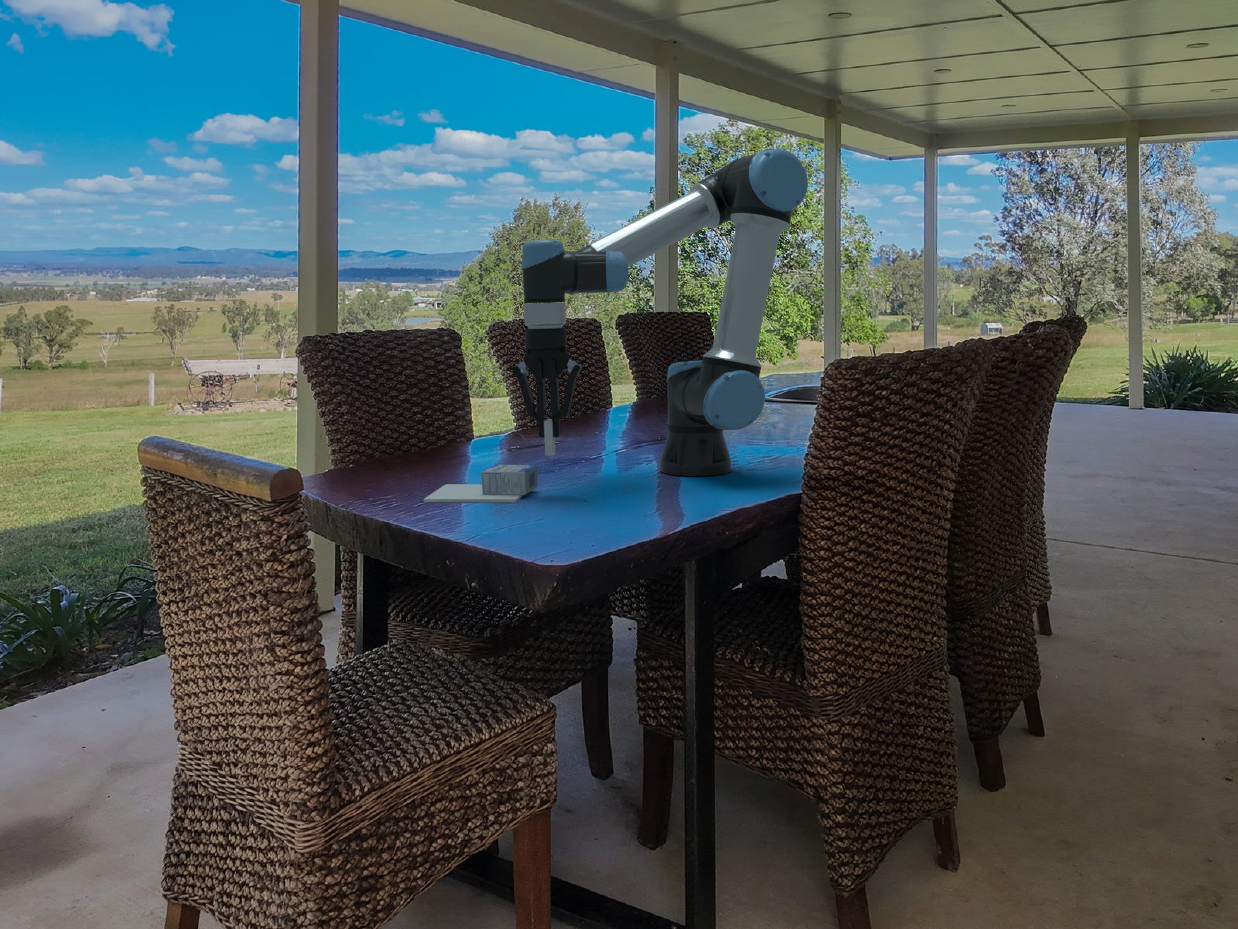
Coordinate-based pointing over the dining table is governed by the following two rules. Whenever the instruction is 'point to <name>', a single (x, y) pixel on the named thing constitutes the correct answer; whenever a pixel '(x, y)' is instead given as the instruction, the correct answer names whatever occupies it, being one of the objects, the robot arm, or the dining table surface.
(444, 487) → the mat
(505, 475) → the medicine box
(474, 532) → the dining table surface
